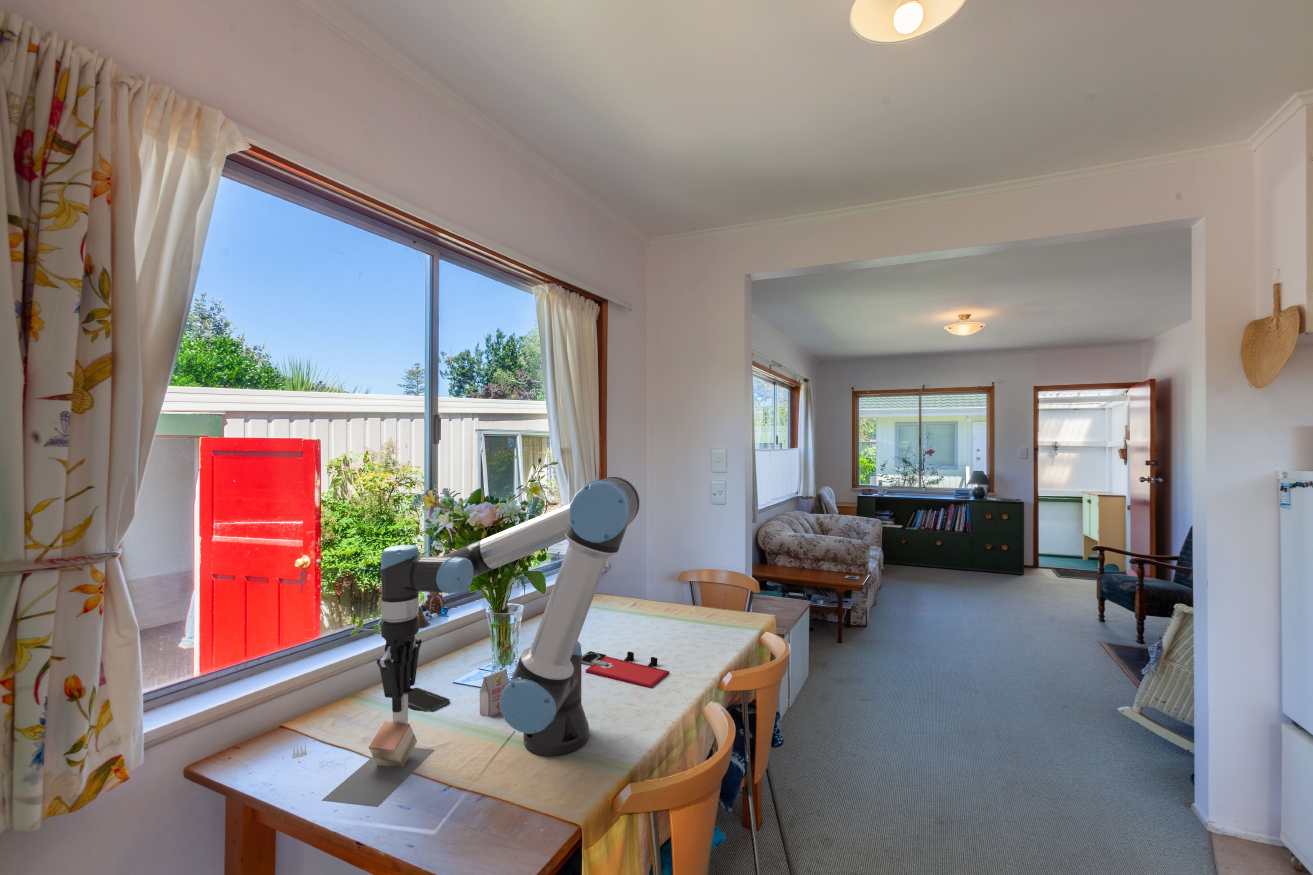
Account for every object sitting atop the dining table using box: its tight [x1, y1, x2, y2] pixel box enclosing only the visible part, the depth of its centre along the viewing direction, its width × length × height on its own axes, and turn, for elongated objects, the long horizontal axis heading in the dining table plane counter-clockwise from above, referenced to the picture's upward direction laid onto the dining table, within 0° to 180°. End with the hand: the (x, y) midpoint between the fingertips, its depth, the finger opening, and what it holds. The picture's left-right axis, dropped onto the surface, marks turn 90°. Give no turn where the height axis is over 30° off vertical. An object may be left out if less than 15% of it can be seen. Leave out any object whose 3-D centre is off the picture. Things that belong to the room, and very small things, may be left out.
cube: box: [368, 721, 418, 768], centre depth 123 cm, size 6×6×6 cm
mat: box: [321, 747, 435, 808], centre depth 119 cm, size 12×20×1 cm, turn 171°
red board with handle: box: [582, 650, 670, 689], centre depth 174 cm, size 30×3×15 cm
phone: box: [408, 687, 451, 713], centre depth 153 cm, size 8×1×15 cm
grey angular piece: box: [479, 668, 510, 718], centre depth 147 cm, size 4×7×10 cm, turn 141°
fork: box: [293, 743, 308, 764], centre depth 122 cm, size 3×16×2 cm, turn 35°
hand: (400, 723), depth 126 cm, fingers closed
